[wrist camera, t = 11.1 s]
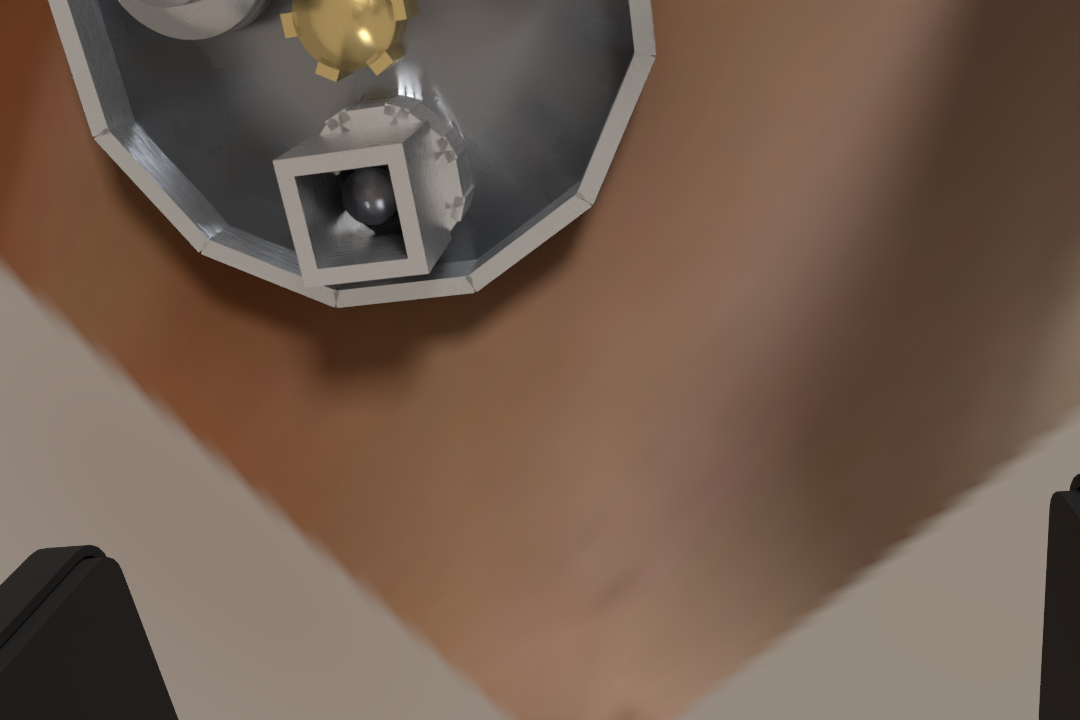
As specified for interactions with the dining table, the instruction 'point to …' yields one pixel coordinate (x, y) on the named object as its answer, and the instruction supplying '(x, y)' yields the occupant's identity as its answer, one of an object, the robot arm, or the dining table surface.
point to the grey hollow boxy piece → (418, 182)
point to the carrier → (343, 79)
